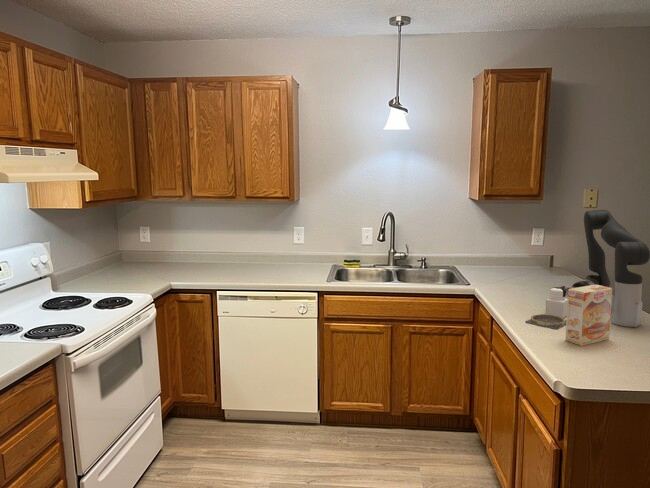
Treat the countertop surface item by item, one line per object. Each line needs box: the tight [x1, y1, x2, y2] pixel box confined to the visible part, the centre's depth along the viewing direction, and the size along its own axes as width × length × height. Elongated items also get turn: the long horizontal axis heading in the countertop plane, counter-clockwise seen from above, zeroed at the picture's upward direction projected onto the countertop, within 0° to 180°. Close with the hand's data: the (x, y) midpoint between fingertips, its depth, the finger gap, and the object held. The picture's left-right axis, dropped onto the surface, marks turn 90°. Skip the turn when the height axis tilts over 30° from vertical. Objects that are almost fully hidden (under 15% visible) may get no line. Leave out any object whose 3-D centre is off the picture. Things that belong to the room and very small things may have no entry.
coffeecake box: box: [565, 285, 614, 347], centre depth 171 cm, size 15×7×20 cm, turn 114°
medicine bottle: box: [545, 286, 568, 319], centre depth 202 cm, size 7×7×12 cm
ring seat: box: [525, 313, 567, 330], centre depth 193 cm, size 13×13×2 cm
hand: (568, 295), depth 209 cm, fingers open, 8 cm apart
